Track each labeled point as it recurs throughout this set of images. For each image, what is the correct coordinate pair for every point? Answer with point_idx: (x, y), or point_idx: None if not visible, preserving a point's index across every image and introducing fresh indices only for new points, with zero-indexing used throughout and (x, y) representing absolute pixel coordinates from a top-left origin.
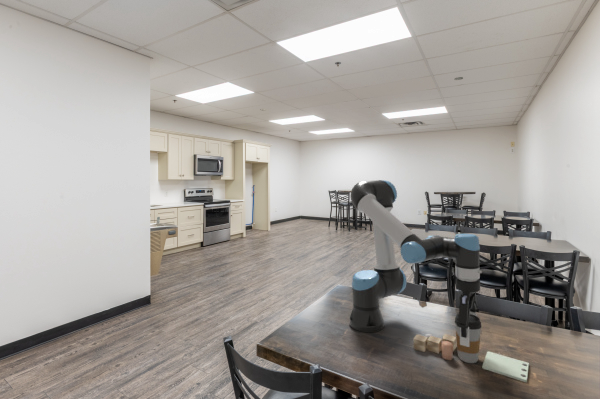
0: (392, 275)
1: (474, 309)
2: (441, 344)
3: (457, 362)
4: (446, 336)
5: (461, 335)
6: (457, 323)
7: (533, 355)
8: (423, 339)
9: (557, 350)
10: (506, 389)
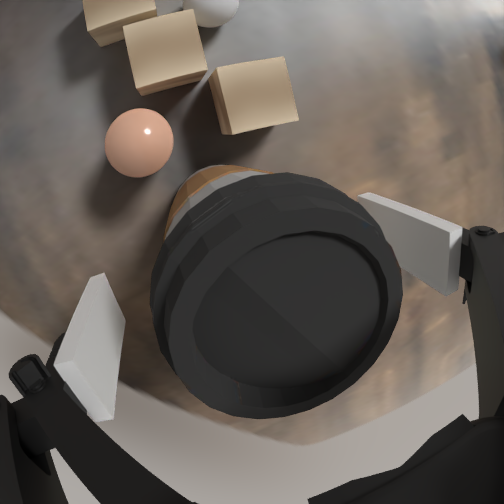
0: None
1: (470, 301)
2: (198, 76)
3: (142, 197)
4: (260, 76)
5: (56, 343)
6: (163, 259)
7: (399, 330)
8: (111, 10)
9: (446, 341)
10: (141, 378)
